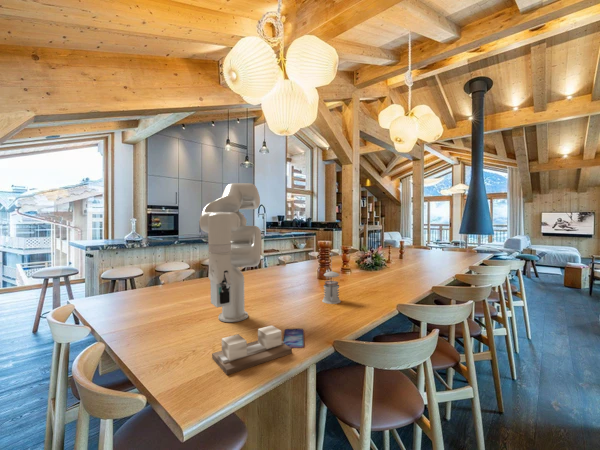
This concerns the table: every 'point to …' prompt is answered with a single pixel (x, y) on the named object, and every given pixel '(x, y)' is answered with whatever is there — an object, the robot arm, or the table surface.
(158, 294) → the table surface
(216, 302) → the module block
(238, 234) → the robot arm
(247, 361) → the rail board
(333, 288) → the french press
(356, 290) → the table surface
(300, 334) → the smartphone
